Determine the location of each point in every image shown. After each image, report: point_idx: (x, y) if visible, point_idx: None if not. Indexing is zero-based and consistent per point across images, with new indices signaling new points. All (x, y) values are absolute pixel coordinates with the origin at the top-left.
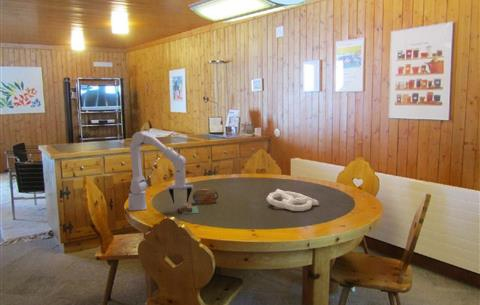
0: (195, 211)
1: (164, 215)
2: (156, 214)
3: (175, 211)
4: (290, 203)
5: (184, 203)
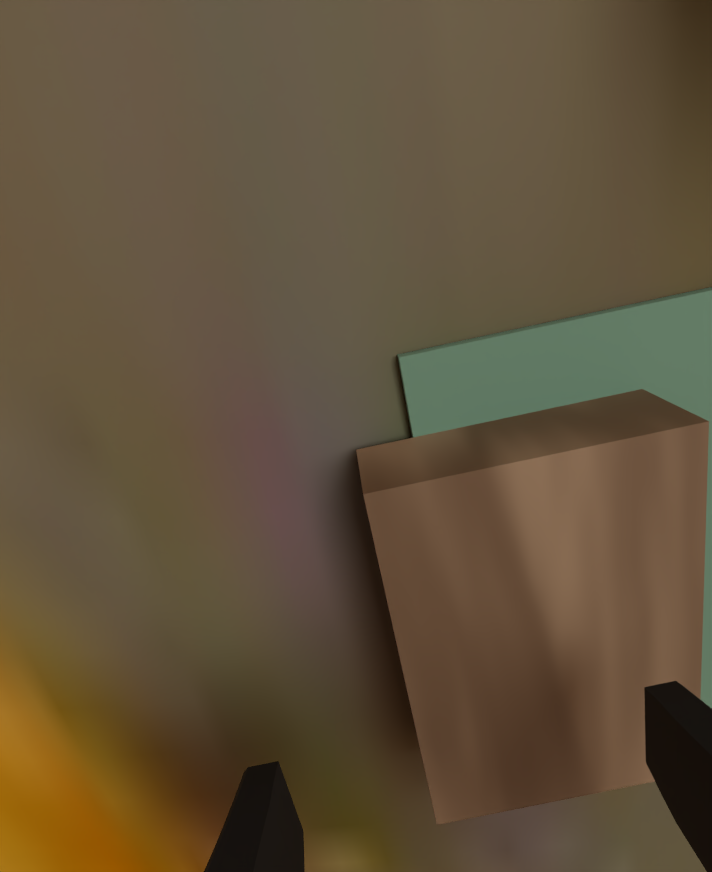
0: (707, 668)
1: (201, 844)
2: (44, 815)
3: (329, 649)
4: None
5: (520, 461)
